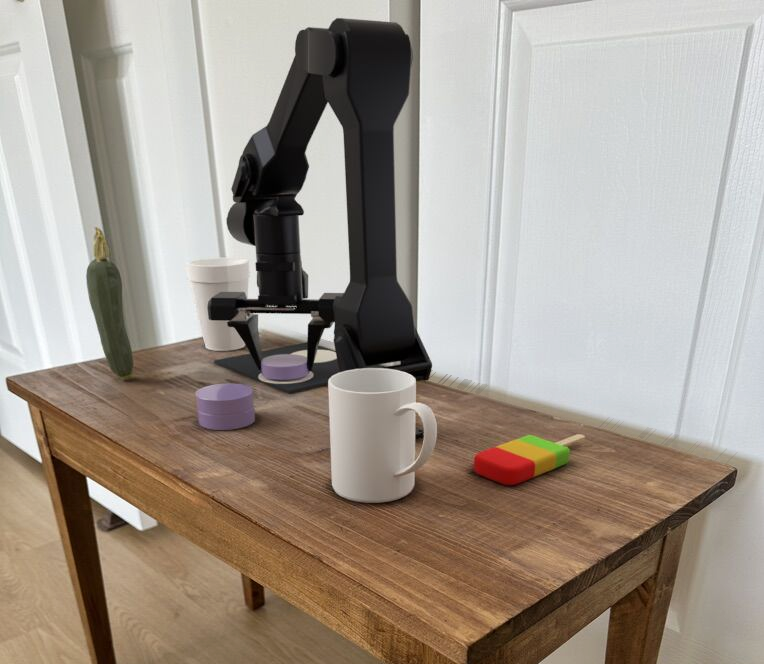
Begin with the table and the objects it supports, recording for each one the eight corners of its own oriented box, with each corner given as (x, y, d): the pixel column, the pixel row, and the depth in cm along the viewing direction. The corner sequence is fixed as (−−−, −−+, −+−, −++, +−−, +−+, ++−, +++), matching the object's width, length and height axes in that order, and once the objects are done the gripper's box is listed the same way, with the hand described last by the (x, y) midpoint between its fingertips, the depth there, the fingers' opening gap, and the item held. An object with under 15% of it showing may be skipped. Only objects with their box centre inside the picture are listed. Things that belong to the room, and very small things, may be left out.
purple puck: (264, 407, 89) (263, 392, 88) (214, 419, 85) (212, 404, 84) (235, 394, 93) (234, 380, 92) (186, 405, 89) (185, 390, 89)
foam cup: (236, 336, 128) (229, 255, 122) (266, 346, 122) (260, 262, 116) (185, 345, 123) (175, 261, 117) (213, 356, 116) (204, 268, 110)
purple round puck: (318, 373, 104) (318, 360, 104) (278, 382, 101) (277, 369, 100) (292, 364, 109) (291, 351, 108) (252, 372, 105) (251, 359, 104)
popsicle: (467, 471, 76) (468, 454, 75) (561, 436, 84) (562, 420, 84) (510, 489, 72) (511, 471, 71) (603, 450, 81) (605, 434, 80)
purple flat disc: (266, 421, 89) (264, 407, 89) (216, 434, 86) (214, 419, 85) (237, 408, 94) (235, 394, 93) (188, 419, 90) (186, 405, 89)
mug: (315, 484, 73) (310, 378, 69) (380, 464, 78) (379, 363, 73) (395, 529, 65) (396, 412, 60) (462, 504, 69) (468, 393, 64)
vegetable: (130, 386, 102) (105, 229, 94) (99, 386, 103) (71, 229, 94) (140, 377, 106) (117, 225, 98) (110, 377, 107) (84, 225, 98)
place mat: (388, 370, 109) (388, 366, 109) (287, 394, 99) (287, 390, 99) (307, 344, 123) (307, 341, 122) (212, 363, 113) (211, 360, 112)
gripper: (357, 244, 104) (359, 356, 111) (224, 243, 106) (234, 354, 113) (346, 255, 94) (350, 377, 101) (200, 254, 96) (213, 375, 103)
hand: (285, 370), depth 105 cm, fingers closed on purple round puck, 6 cm apart
